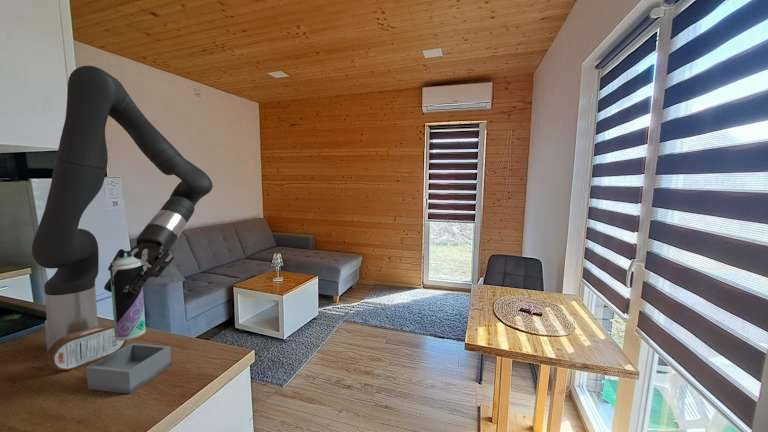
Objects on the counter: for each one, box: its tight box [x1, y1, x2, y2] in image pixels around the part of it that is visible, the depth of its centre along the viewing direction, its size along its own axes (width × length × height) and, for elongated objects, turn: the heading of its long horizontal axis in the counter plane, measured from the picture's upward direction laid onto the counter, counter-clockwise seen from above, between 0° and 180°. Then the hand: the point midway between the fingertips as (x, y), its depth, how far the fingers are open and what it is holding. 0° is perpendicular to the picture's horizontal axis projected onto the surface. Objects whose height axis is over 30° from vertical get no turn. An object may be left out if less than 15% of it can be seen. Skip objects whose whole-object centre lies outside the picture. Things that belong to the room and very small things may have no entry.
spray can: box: [109, 250, 147, 341], centre depth 68 cm, size 6×6×20 cm
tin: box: [45, 322, 128, 371], centre depth 75 cm, size 15×3×8 cm, turn 152°
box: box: [86, 342, 172, 395], centre depth 70 cm, size 11×11×5 cm
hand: (120, 291), depth 66 cm, fingers closed on spray can, 5 cm apart
